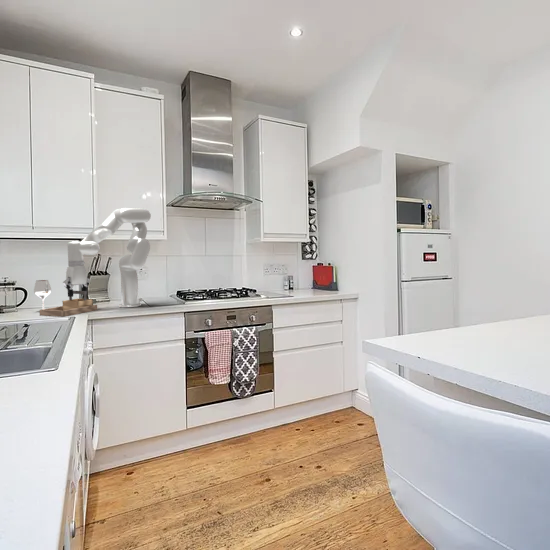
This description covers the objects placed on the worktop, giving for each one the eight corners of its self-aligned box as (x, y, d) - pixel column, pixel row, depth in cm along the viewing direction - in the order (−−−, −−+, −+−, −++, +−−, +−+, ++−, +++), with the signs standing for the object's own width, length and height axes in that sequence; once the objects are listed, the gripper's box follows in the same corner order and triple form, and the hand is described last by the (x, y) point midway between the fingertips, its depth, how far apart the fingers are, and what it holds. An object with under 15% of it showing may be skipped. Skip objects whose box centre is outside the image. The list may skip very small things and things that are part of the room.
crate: (78, 309, 212) (77, 289, 211) (93, 309, 208) (92, 290, 207) (63, 311, 202) (62, 291, 202) (78, 312, 199) (77, 292, 198)
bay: (75, 310, 213) (75, 303, 213) (97, 312, 208) (97, 304, 207) (39, 317, 192) (39, 309, 192) (63, 319, 187) (63, 311, 187)
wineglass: (35, 314, 202) (33, 281, 200) (34, 312, 208) (32, 280, 207) (53, 312, 206) (51, 280, 205) (51, 311, 213) (49, 279, 212)
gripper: (83, 263, 213) (85, 293, 214) (57, 264, 196) (58, 297, 198) (94, 263, 210) (95, 294, 212) (68, 264, 194) (69, 297, 195)
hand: (77, 295), depth 205 cm, fingers open, 8 cm apart
